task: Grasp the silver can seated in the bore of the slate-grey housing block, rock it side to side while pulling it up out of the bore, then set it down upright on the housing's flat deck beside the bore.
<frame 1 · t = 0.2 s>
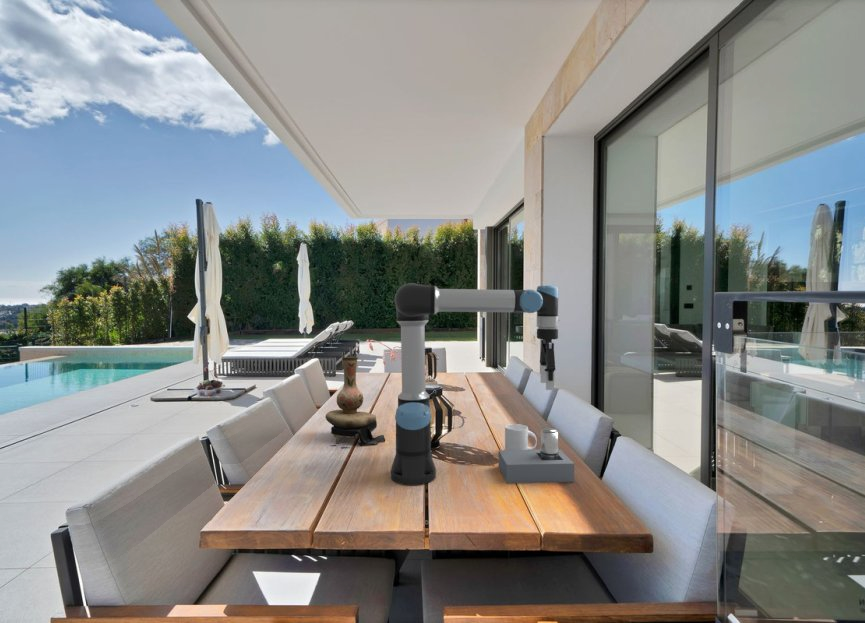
hand: (547, 386, 161), 27 cm above the table, fingers open, 13 cm apart
housing: (534, 474, 150), on the table
silver can: (549, 468, 150), point 2 cm above the table, touching housing
mug: (520, 455, 168), on the table
vase: (354, 439, 188), on the table
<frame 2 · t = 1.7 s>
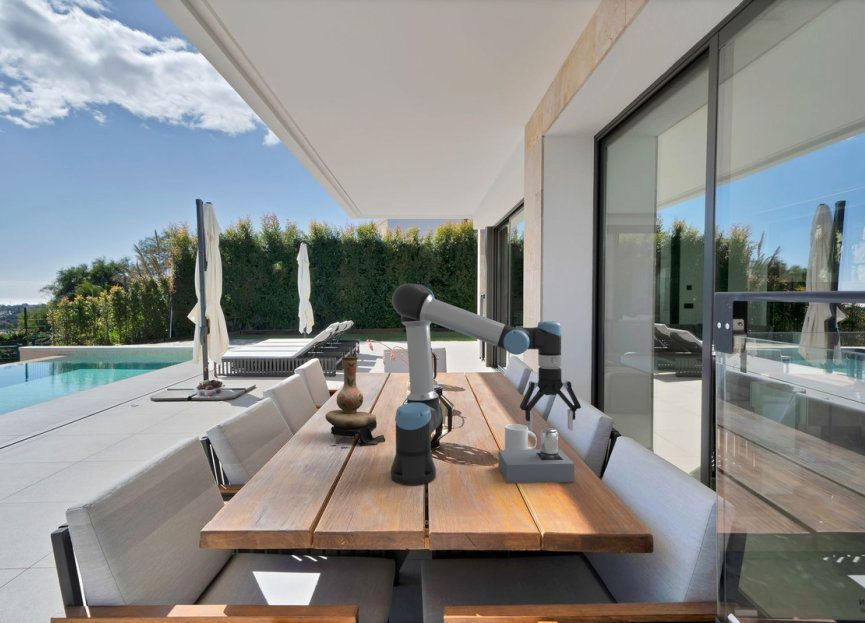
hand: (550, 430, 149), 15 cm above the table, fingers open, 13 cm apart
nothing on the table moved.
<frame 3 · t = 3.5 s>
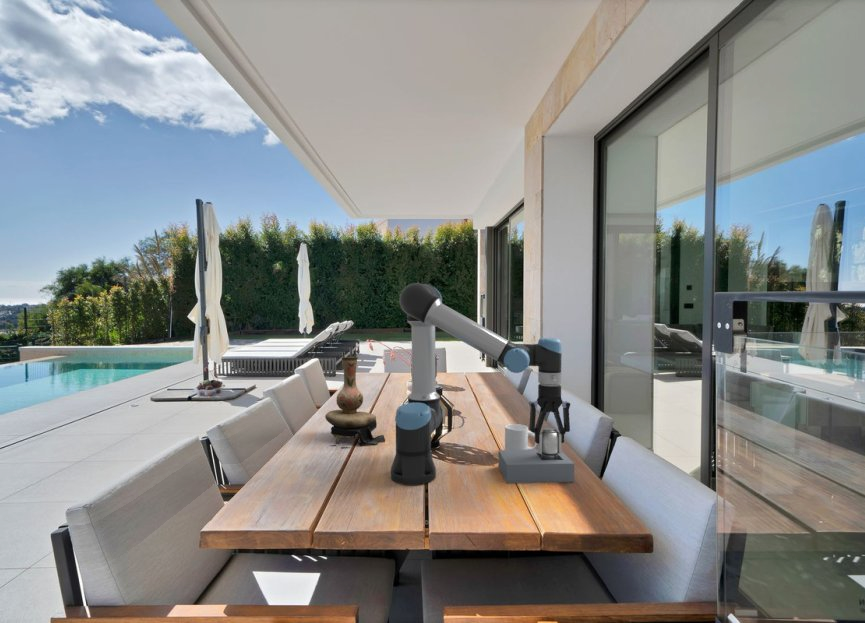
hand: (549, 452, 150), 7 cm above the table, fingers closed on silver can, 6 cm apart
silver can: (549, 468, 150), point 2 cm above the table, touching gripper, housing
everything else where it was.
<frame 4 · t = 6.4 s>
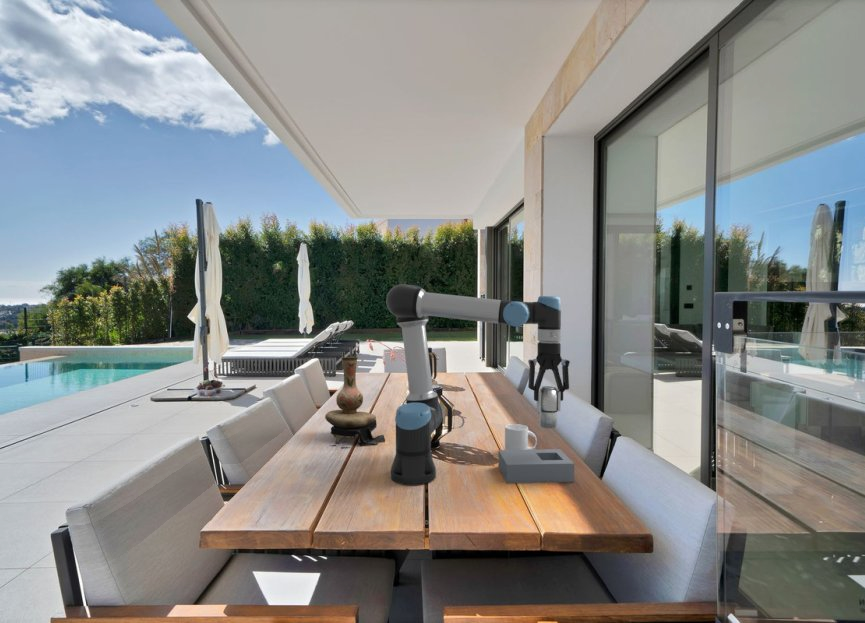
hand: (548, 410, 149), 22 cm above the table, fingers closed on silver can, 6 cm apart
silver can: (548, 426, 149), point 16 cm above the table, touching gripper
everything else where it was.
when the fingers open (12 cm above the table, at t = 9.5 s): silver can stays where it is, resting on housing.
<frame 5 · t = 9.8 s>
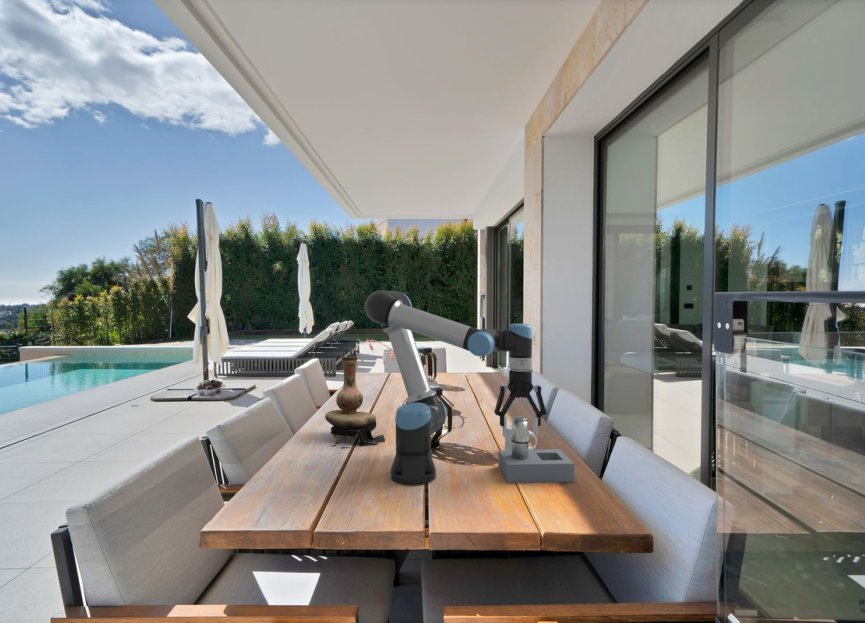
hand: (520, 435, 149), 13 cm above the table, fingers open, 10 cm apart
silver can: (519, 456, 149), point 6 cm above the table, touching housing
everything else where it was.
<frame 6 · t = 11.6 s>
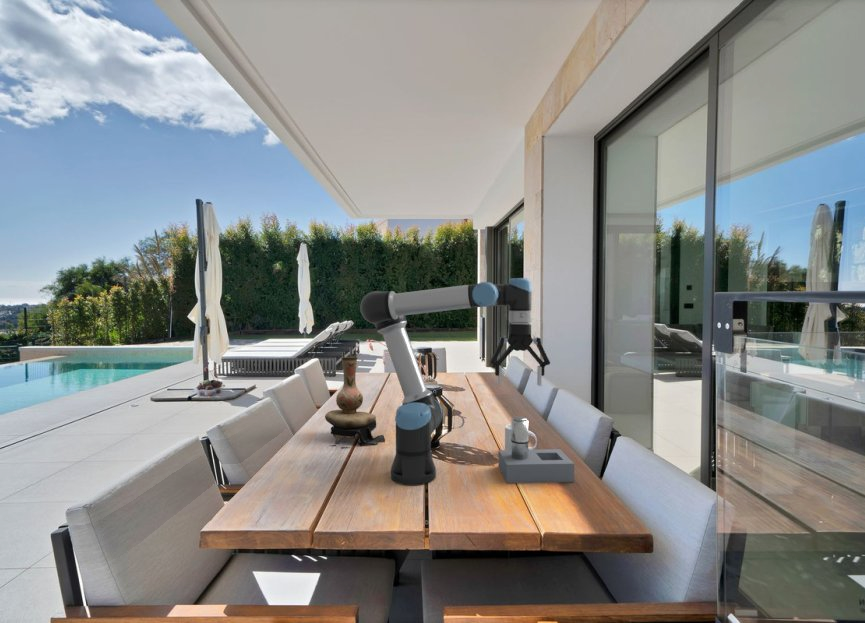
hand: (519, 385, 152), 30 cm above the table, fingers open, 13 cm apart
nothing on the table moved.
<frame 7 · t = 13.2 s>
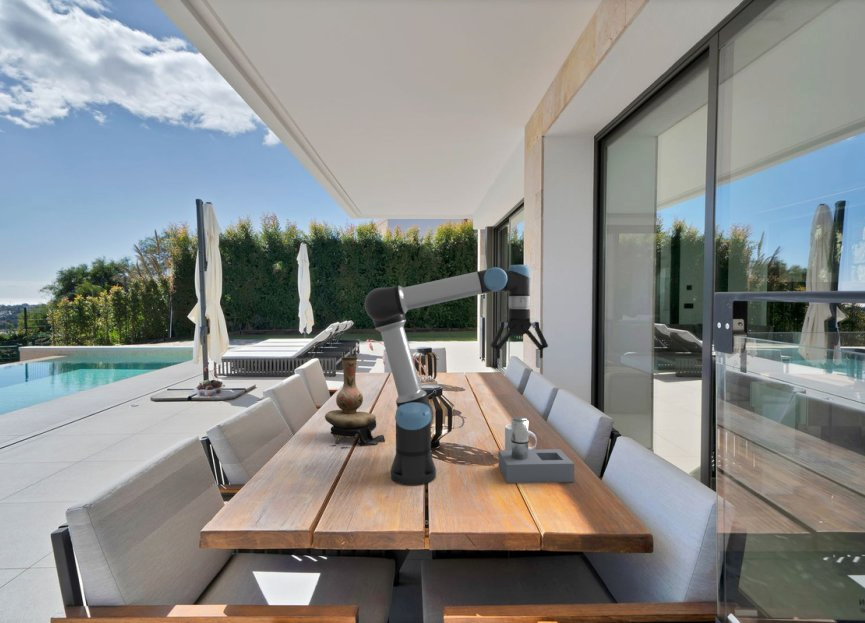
hand: (519, 367, 159), 35 cm above the table, fingers open, 13 cm apart
nothing on the table moved.
at the end: silver can inside the target area on the housing (0.1 cm from its centre), point 6.0 cm above the housing's base; silver can tilted 0°; the gripper is holding nothing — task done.
